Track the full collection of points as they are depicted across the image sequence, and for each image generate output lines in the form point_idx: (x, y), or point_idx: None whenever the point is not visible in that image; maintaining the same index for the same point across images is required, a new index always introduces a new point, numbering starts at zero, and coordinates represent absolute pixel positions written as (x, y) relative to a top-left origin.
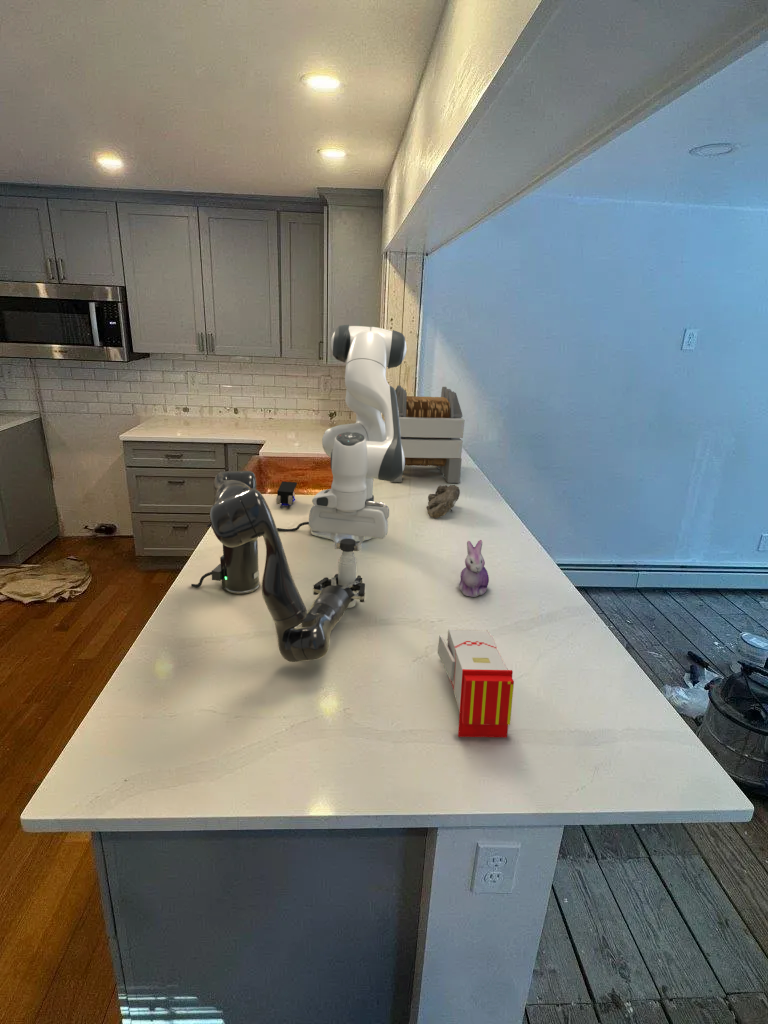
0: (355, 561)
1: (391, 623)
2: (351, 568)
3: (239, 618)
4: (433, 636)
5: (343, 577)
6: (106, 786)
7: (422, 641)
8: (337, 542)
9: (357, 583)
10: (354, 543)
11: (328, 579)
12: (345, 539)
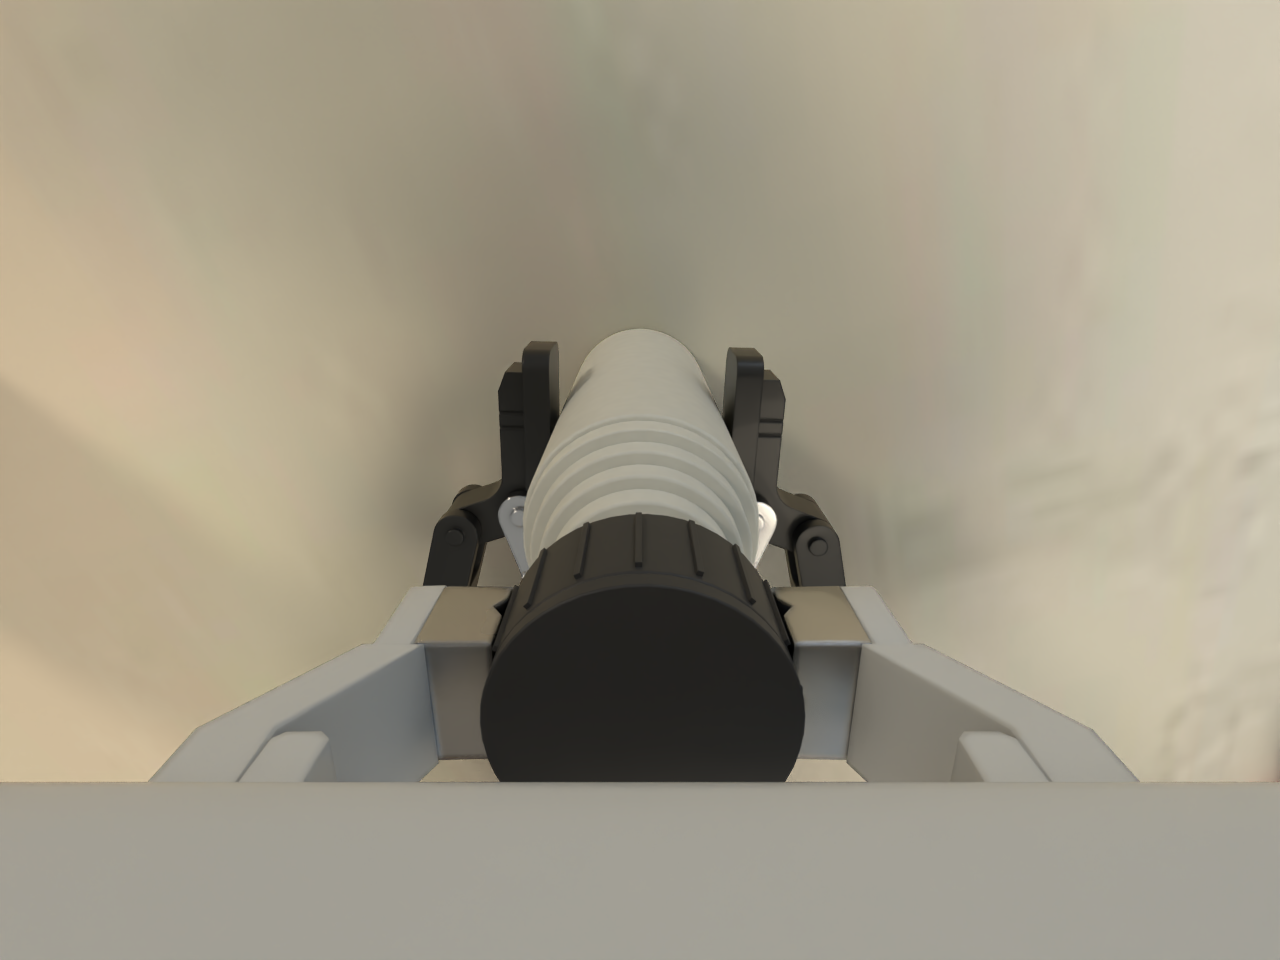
0: (754, 554)
1: (978, 550)
2: None
3: (108, 721)
4: (1231, 616)
5: None
6: None
7: (1158, 675)
8: (435, 733)
9: (766, 546)
10: (793, 763)
11: (479, 530)
12: (558, 656)
